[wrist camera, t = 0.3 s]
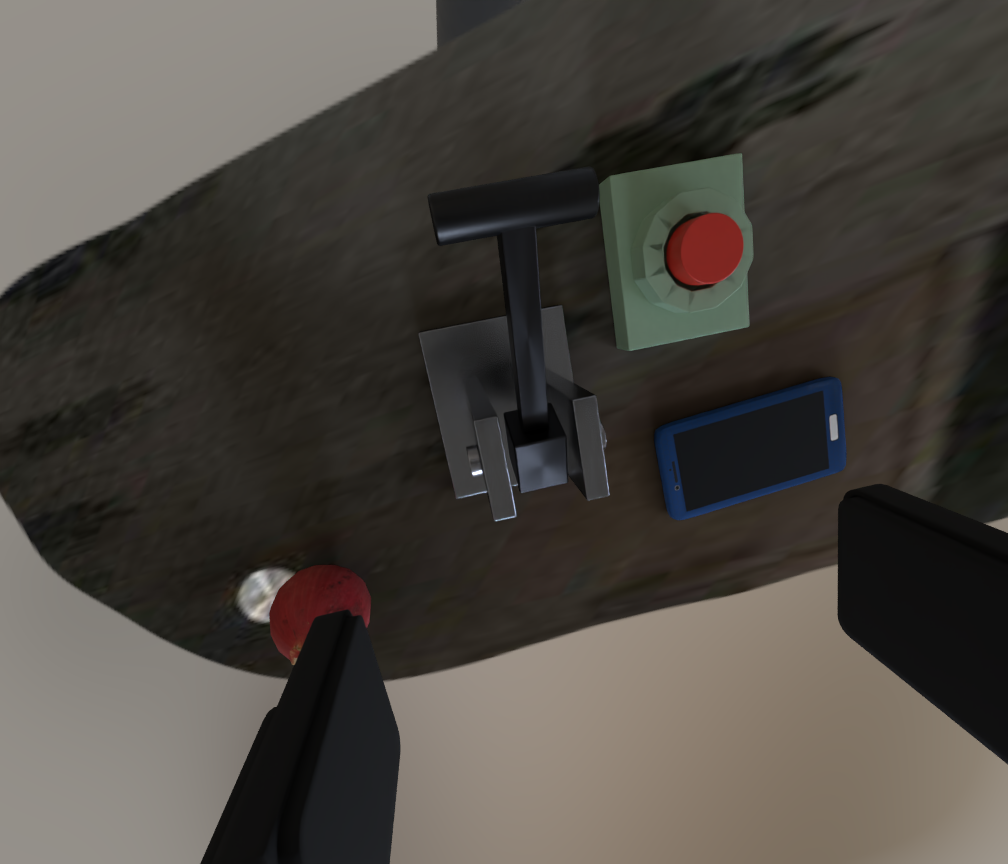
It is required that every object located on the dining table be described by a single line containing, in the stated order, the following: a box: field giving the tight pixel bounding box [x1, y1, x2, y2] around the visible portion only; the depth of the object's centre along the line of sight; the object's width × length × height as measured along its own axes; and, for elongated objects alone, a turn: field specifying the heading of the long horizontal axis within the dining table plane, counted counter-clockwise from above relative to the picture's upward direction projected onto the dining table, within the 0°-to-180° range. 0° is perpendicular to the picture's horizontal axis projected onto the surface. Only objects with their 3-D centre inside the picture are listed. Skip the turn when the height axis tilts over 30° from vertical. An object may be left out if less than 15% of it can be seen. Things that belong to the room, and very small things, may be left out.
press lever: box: [428, 167, 600, 493], centre depth 18 cm, size 12×5×2 cm, turn 9°
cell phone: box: [654, 377, 846, 520], centre depth 34 cm, size 7×14×1 cm, turn 105°
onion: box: [269, 565, 371, 665], centre depth 29 cm, size 6×6×8 cm
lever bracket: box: [418, 305, 609, 521], centre depth 25 cm, size 11×9×13 cm
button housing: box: [599, 153, 753, 351], centre depth 29 cm, size 10×8×4 cm
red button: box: [666, 213, 744, 286], centre depth 26 cm, size 4×4×2 cm
